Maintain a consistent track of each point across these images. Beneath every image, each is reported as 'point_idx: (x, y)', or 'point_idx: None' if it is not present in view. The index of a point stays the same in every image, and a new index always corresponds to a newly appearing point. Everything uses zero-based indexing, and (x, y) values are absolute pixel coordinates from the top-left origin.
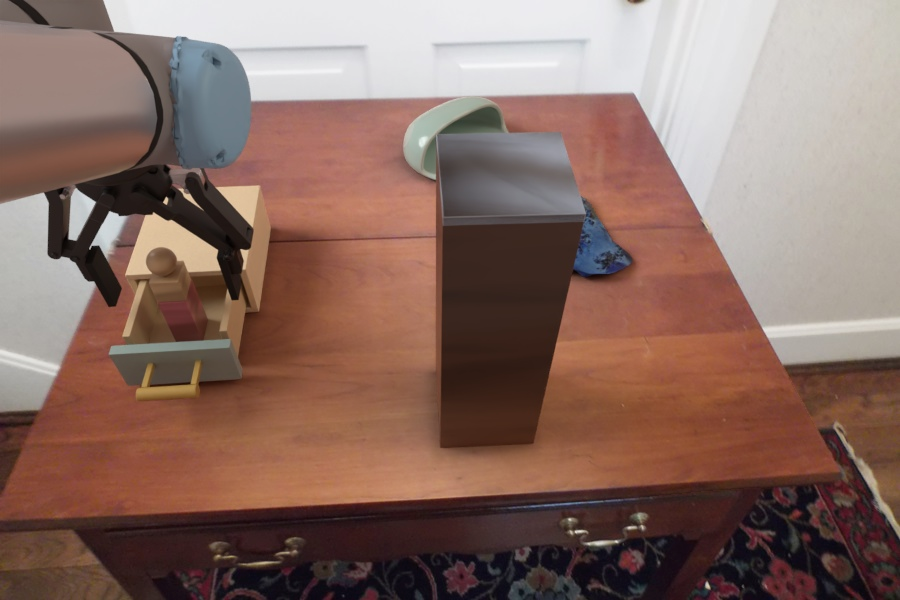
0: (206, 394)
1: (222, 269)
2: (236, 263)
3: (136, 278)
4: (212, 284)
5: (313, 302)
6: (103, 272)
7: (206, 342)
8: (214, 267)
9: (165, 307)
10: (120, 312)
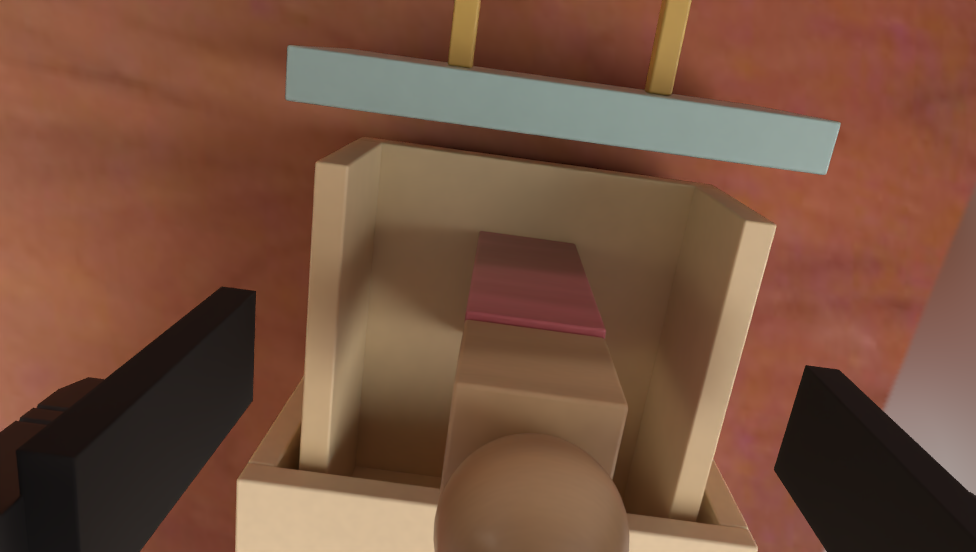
0: (482, 28)
1: (129, 393)
2: (40, 424)
3: (710, 527)
4: None
5: None
6: (893, 530)
7: (397, 102)
8: (374, 515)
9: (573, 314)
10: (769, 445)
